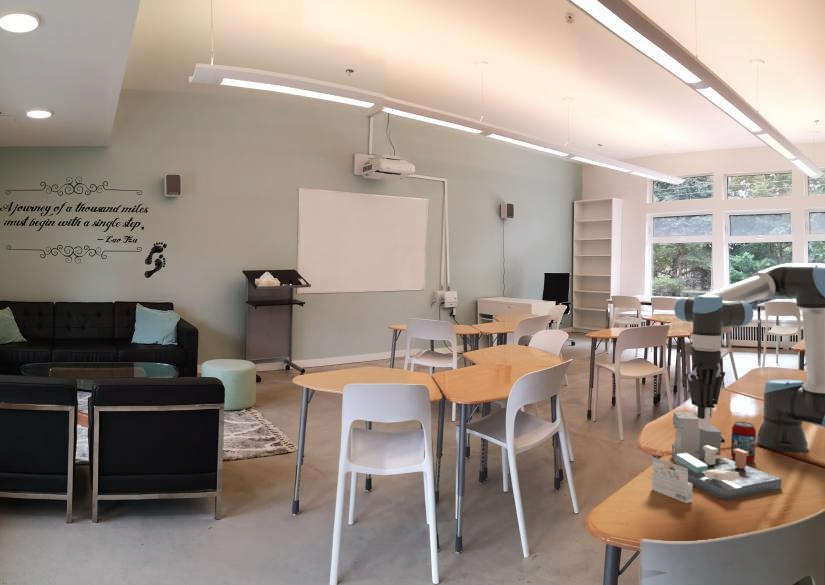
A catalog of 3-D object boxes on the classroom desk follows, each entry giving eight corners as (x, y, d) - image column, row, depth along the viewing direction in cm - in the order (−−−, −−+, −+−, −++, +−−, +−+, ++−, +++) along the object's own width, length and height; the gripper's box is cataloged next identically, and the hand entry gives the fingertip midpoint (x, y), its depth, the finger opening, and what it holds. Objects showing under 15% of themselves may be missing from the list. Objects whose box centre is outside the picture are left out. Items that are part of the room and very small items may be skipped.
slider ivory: (707, 461, 180) (708, 445, 179) (717, 465, 176) (718, 448, 176) (702, 461, 179) (703, 445, 179) (712, 465, 176) (713, 449, 175)
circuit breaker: (725, 467, 184) (727, 420, 183) (677, 464, 187) (678, 417, 186) (718, 459, 192) (719, 414, 191) (671, 456, 194) (673, 411, 194)
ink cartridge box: (656, 488, 168) (657, 455, 167) (692, 502, 158) (693, 466, 158) (651, 490, 166) (651, 456, 166) (687, 504, 157) (688, 468, 156)
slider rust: (737, 464, 177) (738, 448, 176) (748, 468, 173) (748, 452, 173) (732, 465, 176) (733, 449, 176) (743, 469, 173) (743, 452, 172)
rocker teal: (686, 457, 178) (687, 452, 178) (708, 470, 171) (709, 465, 171) (674, 459, 177) (675, 454, 176) (695, 473, 169) (696, 467, 169)
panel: (723, 466, 185) (724, 456, 185) (783, 489, 166) (783, 478, 166) (669, 475, 177) (670, 465, 177) (725, 501, 159) (726, 489, 158)
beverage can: (732, 461, 189) (733, 425, 188) (729, 455, 195) (731, 420, 195) (756, 464, 187) (757, 427, 186) (752, 458, 193) (754, 422, 192)
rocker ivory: (716, 475, 168) (715, 468, 168) (740, 478, 161) (739, 471, 161) (704, 477, 166) (703, 470, 167) (727, 481, 159) (726, 474, 159)
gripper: (712, 345, 175) (710, 423, 176) (678, 348, 170) (676, 427, 172) (734, 349, 168) (731, 430, 169) (699, 352, 163) (697, 435, 165)
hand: (703, 429), depth 170 cm, fingers closed
